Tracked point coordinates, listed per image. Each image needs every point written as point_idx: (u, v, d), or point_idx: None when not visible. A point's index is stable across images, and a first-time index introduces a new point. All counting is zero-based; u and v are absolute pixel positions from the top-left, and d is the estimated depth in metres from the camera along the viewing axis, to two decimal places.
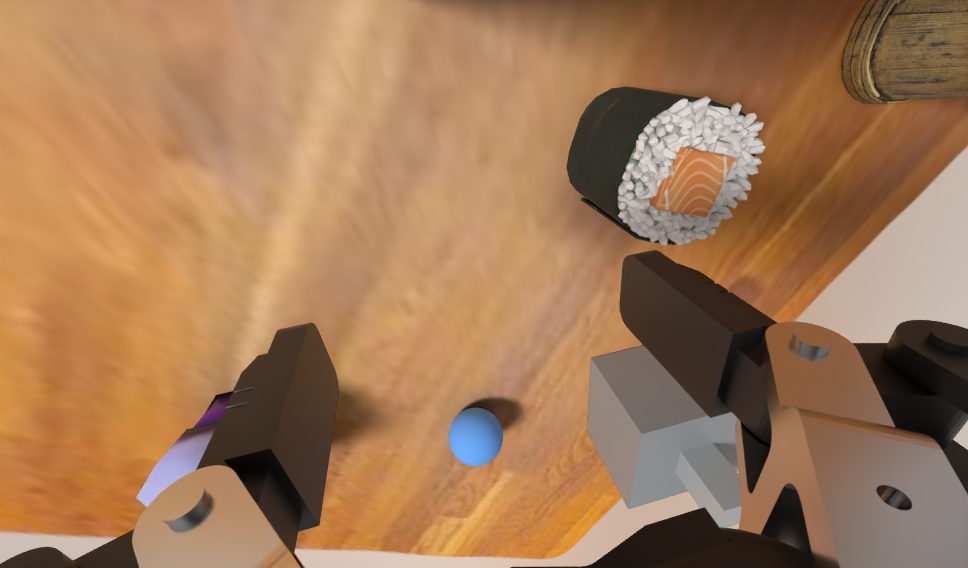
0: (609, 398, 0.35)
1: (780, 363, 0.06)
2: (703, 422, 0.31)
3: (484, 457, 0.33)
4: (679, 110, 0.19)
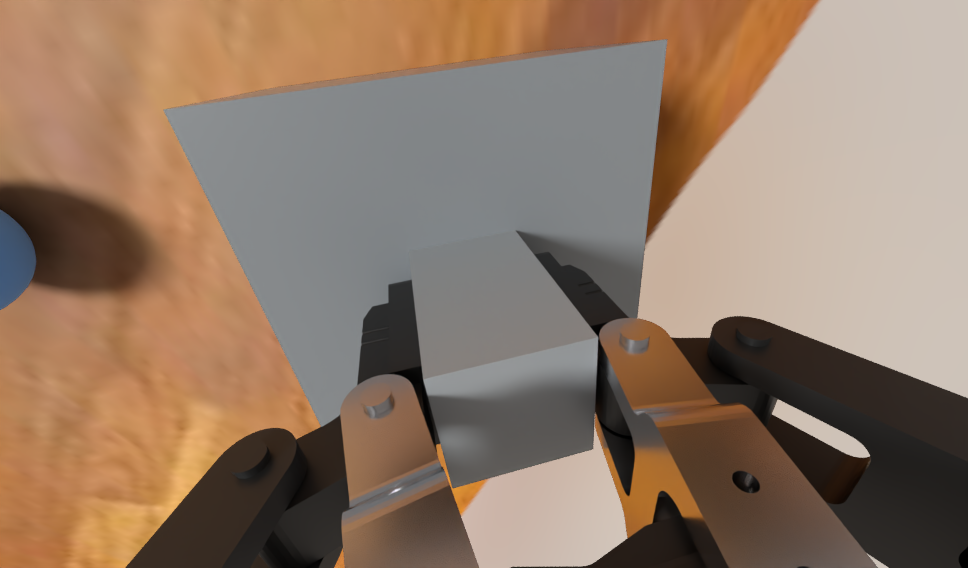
0: None
1: (619, 365, 0.06)
2: (436, 108, 0.09)
3: None
4: None
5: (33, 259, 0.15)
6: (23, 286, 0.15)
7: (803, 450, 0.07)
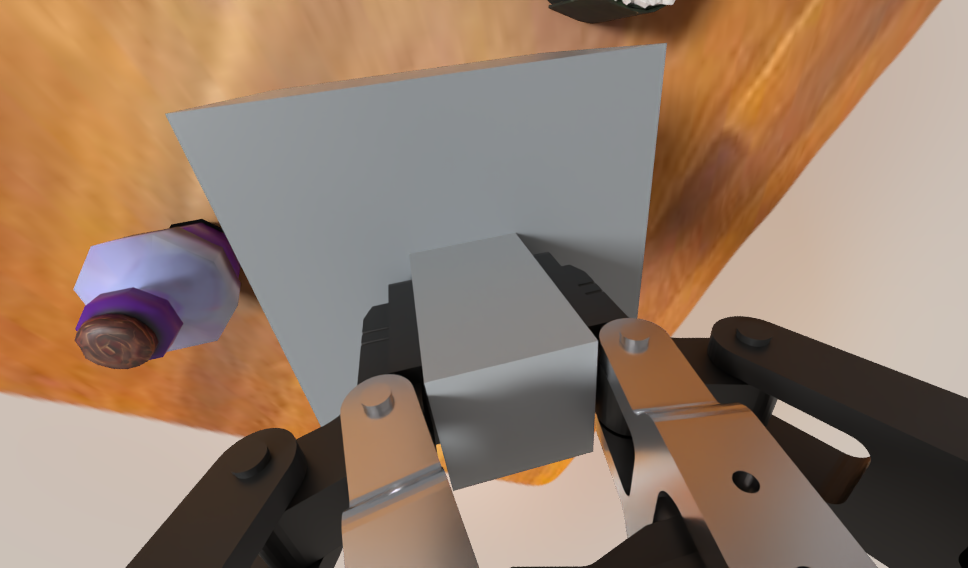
0: None
1: (619, 365, 0.06)
2: (437, 112, 0.09)
3: None
4: None
5: None
6: None
7: (803, 450, 0.07)
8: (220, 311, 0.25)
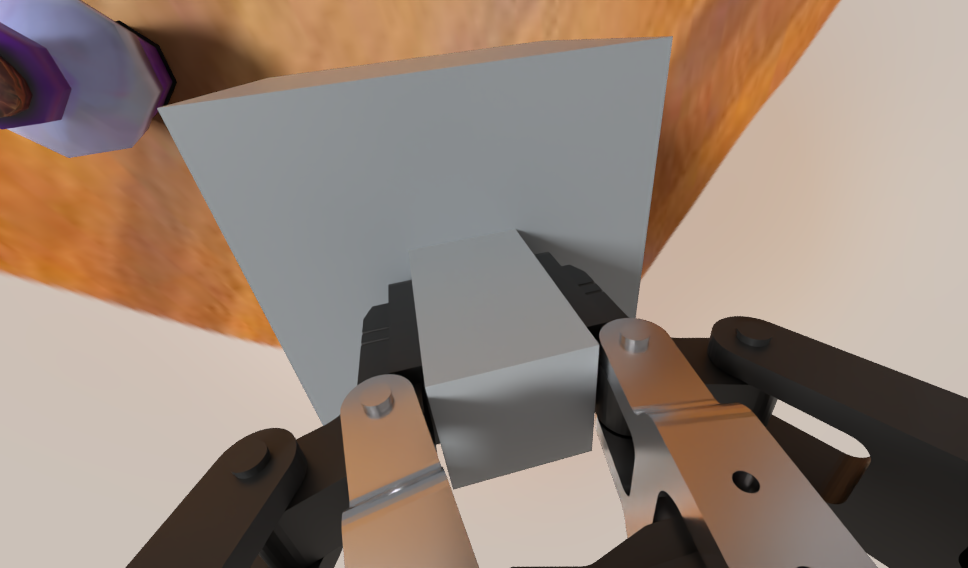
0: None
1: (619, 365, 0.06)
2: (437, 107, 0.09)
3: None
4: None
5: None
6: None
7: (803, 450, 0.07)
8: (129, 100, 0.21)
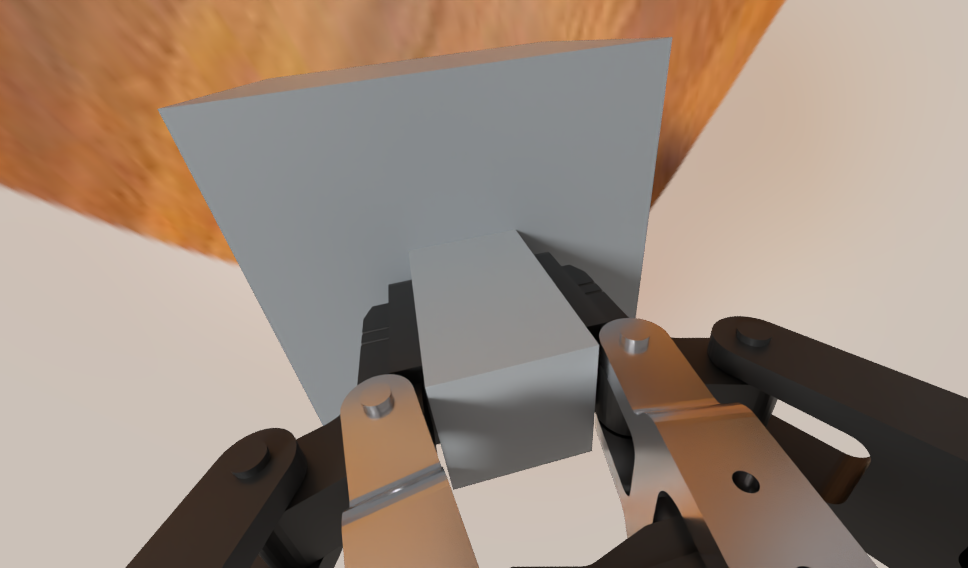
0: None
1: (619, 365, 0.06)
2: (437, 107, 0.09)
3: None
4: None
5: None
6: None
7: (803, 450, 0.07)
8: None
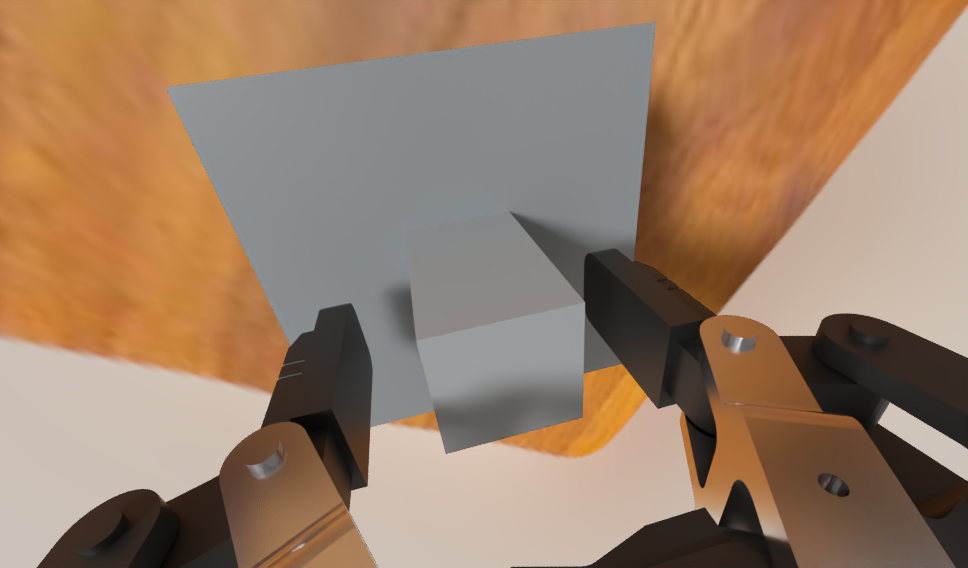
0: None
1: (716, 358, 0.06)
2: (431, 88, 0.09)
3: None
4: None
5: None
6: None
7: (910, 465, 0.06)
8: None
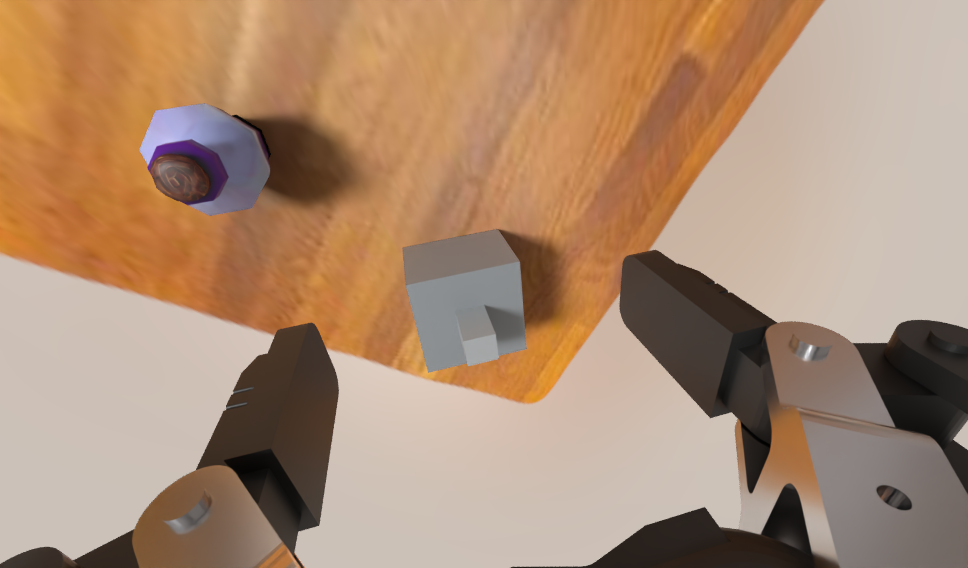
0: None
1: (780, 363, 0.06)
2: (463, 280, 0.37)
3: None
4: None
5: None
6: None
7: None
8: (255, 178, 0.31)
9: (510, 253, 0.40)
